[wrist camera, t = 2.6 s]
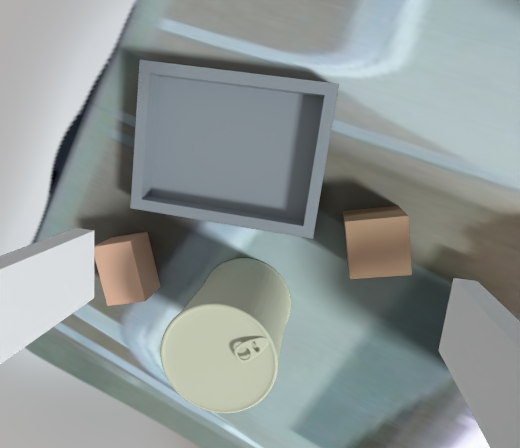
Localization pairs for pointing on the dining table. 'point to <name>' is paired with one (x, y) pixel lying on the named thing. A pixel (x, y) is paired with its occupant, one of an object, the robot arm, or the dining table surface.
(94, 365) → the dining table surface
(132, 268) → the soap block
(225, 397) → the can
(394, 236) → the walnut block
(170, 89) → the tray
